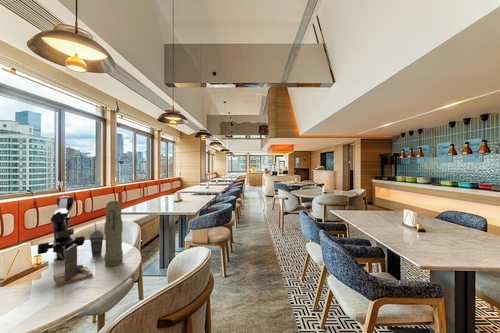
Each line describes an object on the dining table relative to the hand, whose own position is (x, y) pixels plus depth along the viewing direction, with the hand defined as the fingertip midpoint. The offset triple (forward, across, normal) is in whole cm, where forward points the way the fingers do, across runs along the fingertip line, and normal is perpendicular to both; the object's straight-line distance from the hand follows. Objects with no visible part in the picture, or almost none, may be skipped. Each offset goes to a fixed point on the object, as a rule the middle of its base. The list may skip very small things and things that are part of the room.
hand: (64, 259), depth 115 cm
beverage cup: (-6, +18, +19) cm, 27 cm away
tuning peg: (+11, +5, -2) cm, 12 cm away
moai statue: (+8, +22, +4) cm, 23 cm away
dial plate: (+10, +3, +1) cm, 11 cm away
